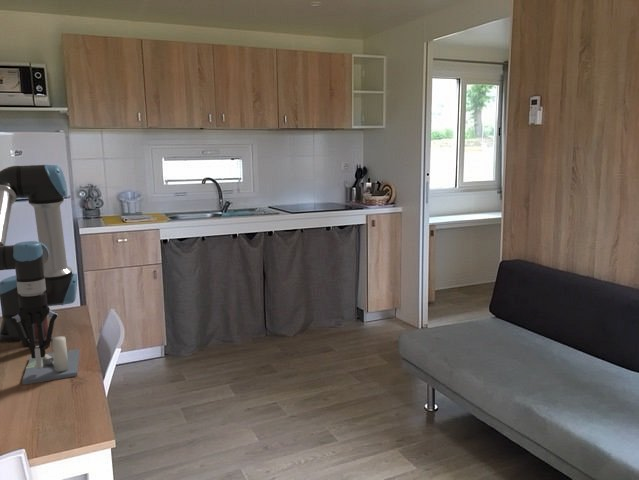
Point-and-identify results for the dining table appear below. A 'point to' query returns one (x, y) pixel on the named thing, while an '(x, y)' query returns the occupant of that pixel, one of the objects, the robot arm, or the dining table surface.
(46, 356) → the needle
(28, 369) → the dial plate
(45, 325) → the can
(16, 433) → the dining table surface
